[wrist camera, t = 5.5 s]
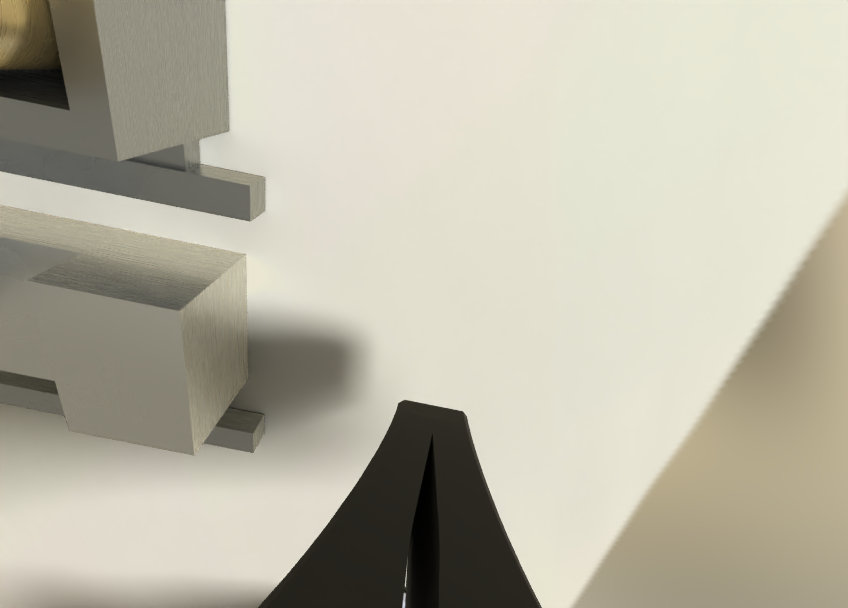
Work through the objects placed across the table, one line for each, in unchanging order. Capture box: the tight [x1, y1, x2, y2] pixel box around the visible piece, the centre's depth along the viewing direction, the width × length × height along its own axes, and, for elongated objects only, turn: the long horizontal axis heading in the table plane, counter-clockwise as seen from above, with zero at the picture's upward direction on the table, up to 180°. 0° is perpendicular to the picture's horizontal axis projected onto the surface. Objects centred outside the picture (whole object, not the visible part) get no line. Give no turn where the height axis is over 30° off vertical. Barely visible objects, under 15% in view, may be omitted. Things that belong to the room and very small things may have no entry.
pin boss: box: [0, 0, 229, 170], centre depth 7 cm, size 4×5×4 cm
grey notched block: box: [0, 205, 248, 455], centre depth 11 cm, size 7×4×3 cm, turn 80°
